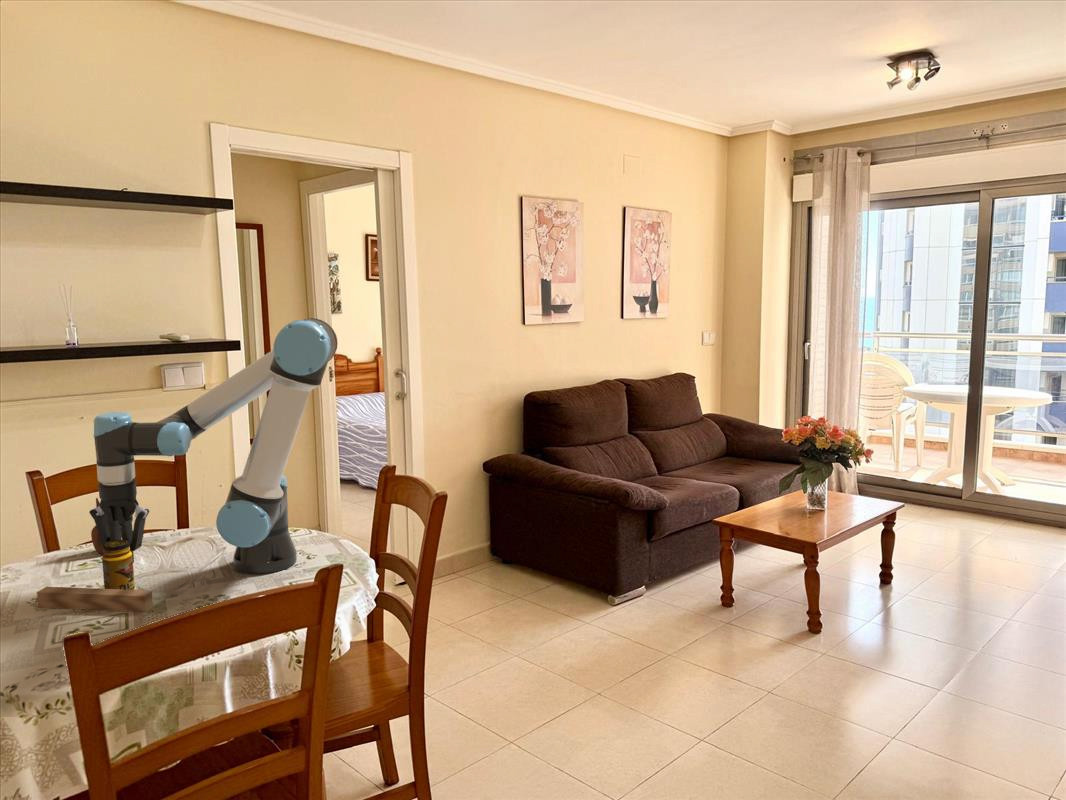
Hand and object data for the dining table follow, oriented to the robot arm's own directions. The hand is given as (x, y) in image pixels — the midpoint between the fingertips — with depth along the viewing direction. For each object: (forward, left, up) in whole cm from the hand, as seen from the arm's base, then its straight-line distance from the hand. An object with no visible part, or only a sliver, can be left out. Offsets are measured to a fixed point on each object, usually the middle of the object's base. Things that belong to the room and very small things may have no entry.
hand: (124, 577), depth 175 cm
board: (0, +12, -2) cm, 12 cm away
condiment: (-1, +5, -2) cm, 5 cm away
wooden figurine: (+18, -21, -2) cm, 27 cm away
